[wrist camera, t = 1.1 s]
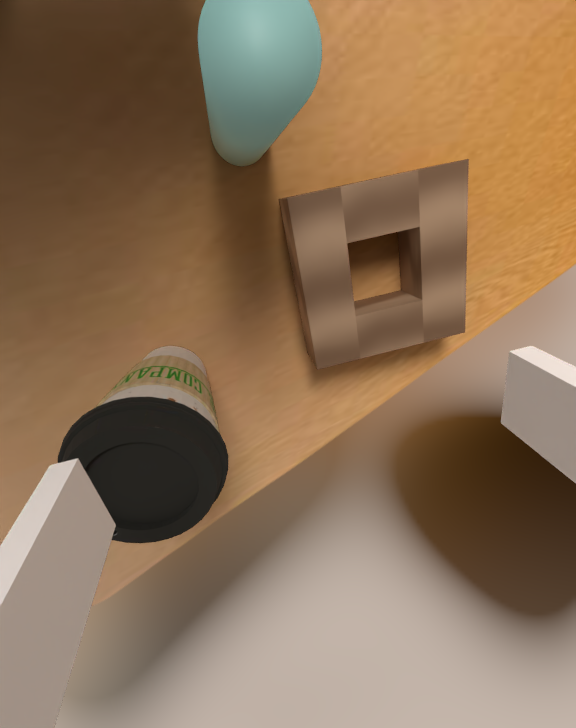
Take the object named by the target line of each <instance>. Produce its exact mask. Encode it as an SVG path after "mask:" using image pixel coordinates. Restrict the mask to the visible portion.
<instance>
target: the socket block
mask: <svg viewBox="0 0 576 728" xmlns="http://www.w3.org/2000/svg"><path fill="white" fill-rule="evenodd" d="M468 160H469V159H466V160H461V161H456V162H451V163H446V164H440V165H436V166H431V167H426V168H422V169H417V170H412V171H408V172H403V173H398V174H394V175H389V176H385V177H380V178H375V179H371V180H366V181H361V182H357V183H352V184H347V185H343V186H338V187H333V188H329V189H324V190H319V191H315V192H310V193H306V194H301V195H296V196H292V197H287V198H282V199H279V202H280V207H281V213H282V218H283V223H284V229H285V234H286V239H287V245H288V250H289V256H290V261H291V266H292V272H293V277H294V283H295V288H296V293H297V299H298V304H299V310H300V315H301V320H302V326H303V331H304V337H305V342H306V347H307V353H308V355H309V356H310V358H311V360H312V361H313V363H314V365H315V366H316V368H317V370H318V369H322V368H326V367H330V366H334V365H338V364H342V363H346V362H350V361H353V360H357V359H361V358H365V357H369V356H373V355H377V354H381V353H385V352H389V351H393V350H397V349H401V348H405V347H409V346H413V345H417V344H421V343H425V342H428V341H432V340H436V339H440V338H444V337H448V336H452V335H456V334H460V333H464V332H465V311H466V261H467V210H468ZM394 232H398V242H399V259H400V277H401V290H400V291H396V292H392V293H388V294H384V295H380V296H375V297H371V298H367V299H363V300H359V301H355V302H354V298H353V290H352V281H351V273H350V264H349V256H348V247H347V243H351V242H355V241H359V240H364V239H368V238H373V237H377V236H381V235H386V234H390V233H394Z"/></svg>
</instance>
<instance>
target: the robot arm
mask: <svg viewBox="0 0 576 728" xmlns="http://www.w3.org/2000/svg"><path fill="white" fill-rule="evenodd" d="M501 423H502V424H503V425H504V426H505V427H507V428H508V429H509V430H510V431H512V432H513V433H514V434H515V435H516V436H518V437H519V438H520V439H521V440H523V441H524V442H525V443H526V444H528V445H529V446H530V447H531V448H533V449H534V450H535V451H536V452H538V453H539V454H540V455H541V456H543V457H544V458H545V459H546V460H548V461H549V462H550V463H551V464H552V465H554V466H555V467H556V468H557V469H559V470H560V471H561V472H562V473H564V474H565V475H566V476H567V477H569V478H570V479H571V480H572V481H574V482H575V483H576V367H575V366H573V365H571V364H569V363H567V362H564V361H562V360H560V359H558V358H556V357H554V356H552V355H550V354H548V353H546V352H544V351H542V350H539V349H538V348H535V347H533V346H529V347H525V348H521V349H517V350H513V351H509V358H508V366H507V375H506V383H505V392H504V400H503V409H502V417H501ZM115 527H116V524H115V522H114V521H113V519H112V517H111V515H110V514H109V512H108V510H107V508H106V507H105V505H104V503H103V501H102V500H101V498H100V496H99V494H98V493H97V491H96V489H95V487H94V486H93V484H92V482H91V480H90V478H89V477H88V475H87V473H86V471H85V470H84V468H83V466H82V464H81V463H80V461H79V459H78V458H77V459H73V460H69V461H65V462H61V463H57V464H53V465H50V466H49V468H48V469H47V471H46V472H45V474H44V476H43V477H42V479H41V481H40V482H39V484H38V485H37V487H36V489H35V490H34V492H33V494H32V495H31V497H30V498H29V500H28V502H27V503H26V505H25V507H24V508H23V510H22V511H21V513H20V515H19V516H18V518H17V520H16V521H15V523H14V524H13V526H12V528H11V529H10V531H9V533H8V534H7V536H6V537H5V539H4V541H3V542H2V544H1V546H0V728H54V727H55V724H56V720H57V717H58V713H59V710H60V707H61V704H62V701H63V697H64V694H65V691H66V688H67V684H68V681H69V677H70V674H71V671H72V668H73V665H74V661H75V658H76V655H77V651H78V648H79V645H80V641H81V638H82V635H83V632H84V628H85V625H86V622H87V618H88V615H89V612H90V608H91V605H92V602H93V599H94V596H95V592H96V589H97V586H98V582H99V579H100V576H101V573H102V569H103V566H104V563H105V559H106V556H107V553H108V550H109V546H110V543H111V540H112V536H113V533H114V530H115Z"/></svg>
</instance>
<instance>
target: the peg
mask: <svg viewBox="0 0 576 728" xmlns="http://www.w3.org/2000/svg"><path fill="white" fill-rule="evenodd" d="M198 51H199V58H200V65H201V72H202V79H203V85H204V92H205V99H206V106H207V113H208V120H209V126H210V133H211V139H212V142H213V145H214V147H215V149H216V151H217V152H218V154H219V155H220V156H221V157H222V158H223V159H224V160H225V161H227V162H228V163H230V164H232V165H236V166H248V165H251V164H254V163H255V162H257V161H258V160H259V159H260V158H261V157H262V156H263V155H264V153H265V152H266V151H267V150H268V148H269V147H270V146H271V145H272V143H273V142H274V141H275V140H276V139H277V137H278V136H279V135H280V134H281V132H282V131H283V130H284V129H285V128H286V126H287V125H288V124H289V123H290V121H291V120H292V119H293V118H294V116H295V115H296V114H297V113H298V112H299V110H300V109H301V108H302V107H303V105H304V104H305V103H306V102H307V100H308V99H309V97H310V96H311V94H312V92H313V90H314V88H315V85H316V83H317V80H318V76H319V72H320V67H321V60H322V44H321V36H320V30H319V26H318V22H317V19H316V16H315V14H314V11H313V9H312V7H311V5H310V3H309V1H308V0H206V1H205V3H204V6H203V8H202V12H201V16H200V19H199V26H198Z"/></svg>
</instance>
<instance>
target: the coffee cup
mask: <svg viewBox="0 0 576 728" xmlns="http://www.w3.org/2000/svg"><path fill="white" fill-rule="evenodd" d="M77 458H78V459H79V461H80V463H81V464H82V466H83V468H84V470H85V471H86V473H87V475H88V477H89V478H90V480H91V482H92V484H93V486H94V487H95V489H96V491H97V493H98V494H99V496H100V498H101V500H102V501H103V503H104V505H105V507H106V508H107V510H108V512H109V514H110V515H111V517H112V519H113V521H114V522H115V524H116V527H115V530H114V533H113V536H112V540H116V541H121V542H127V543H148V542H156V541H161V540H165V539H169V538H172V537H174V536H177V535H179V534H182V533H183V532H185V531H187V530H189V529H190V528H192V527H193V526H194V525H196V524H197V523H198V522H199V521H200V520H202V518H203V517H204V516H205V515H206V514H207V512H208V511H209V510H210V508H211V506H212V504H213V503H214V502H215V500H216V499H217V498H218V496H219V494H220V492H221V490H222V488H223V486H224V483H225V479H226V475H227V471H228V454H227V449H226V445H225V443H224V441H223V439H222V437H221V435H220V433H219V427H218V422H217V417H216V412H215V407H214V402H213V397H212V392H211V388H210V384H209V381H208V379H207V374H206V370H205V367H204V365H203V362H202V361H201V360H200V358H199V357H198V356H197V355H195V354H194V353H193V352H191V351H189V350H188V349H185V348H182V347H177V346H165V347H160V348H158V349H155V350H153V351H152V352H150V353H149V354H148V355H147V356H146V357H145V358H144V359H143V360H142V361H141V362H140V363H138V364H136V365H135V366H134V367H133V368H132V369H131V370H130V371H129V372H128V373H127V374H126V375H125V376H124V377H123V378H122V379H121V381H120V382H119V383H118V384H117V385H116V386H115V387H114V388H113V389H112V390H111V391H110V392H109V393H108V394H107V395H106V396H105V397H104V398H103V399H102V400H101V402H100V403H99V404H98V405H97V406H96V407H95V408H94V409H92V410H91V411H89V412H87V413H86V414H84V415H83V416H82V417H81V418H80V419H79V420H78V421H77V422H75V423H74V424H73V425H72V427H71V428H70V430H69V431H68V433H67V434H66V436H65V437H64V440H63V443H62V446H61V449H60V452H59V455H58V463H61V462H65V461H69V460H73V459H77Z"/></svg>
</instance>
